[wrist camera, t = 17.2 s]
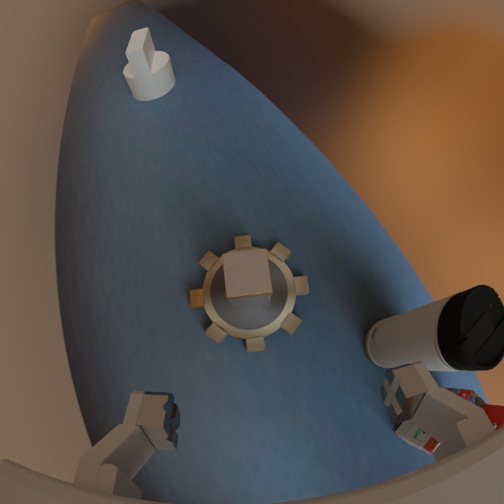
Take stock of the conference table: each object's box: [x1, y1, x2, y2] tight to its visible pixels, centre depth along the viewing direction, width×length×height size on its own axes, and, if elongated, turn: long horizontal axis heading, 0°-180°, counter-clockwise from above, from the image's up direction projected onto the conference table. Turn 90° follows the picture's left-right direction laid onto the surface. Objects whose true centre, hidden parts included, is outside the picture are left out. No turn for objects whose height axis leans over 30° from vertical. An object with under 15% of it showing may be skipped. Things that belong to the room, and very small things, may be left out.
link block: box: [222, 249, 273, 309], centre depth 31 cm, size 4×4×8 cm
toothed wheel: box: [189, 235, 309, 352], centre depth 35 cm, size 14×14×2 cm
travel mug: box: [365, 285, 504, 371], centre depth 24 cm, size 6×7×20 cm
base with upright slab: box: [123, 28, 175, 101], centre depth 44 cm, size 9×9×12 cm
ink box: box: [395, 387, 504, 456], centre depth 23 cm, size 4×8×15 cm, turn 138°
